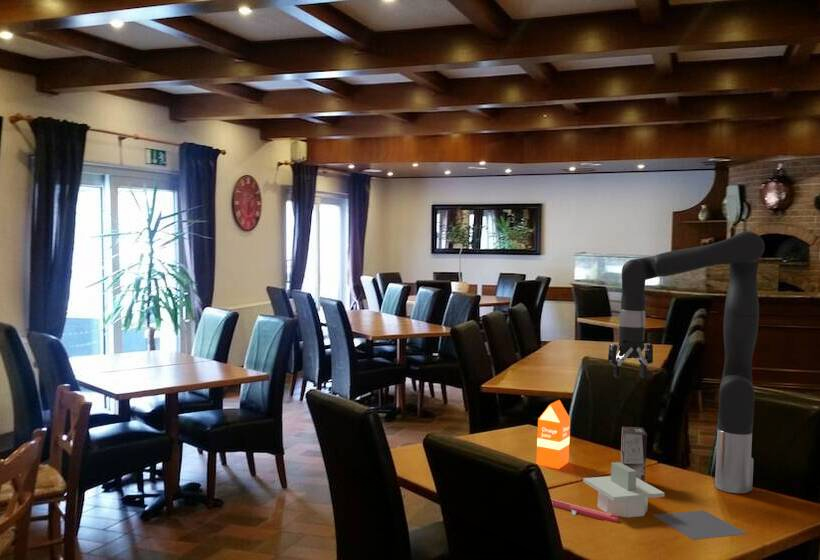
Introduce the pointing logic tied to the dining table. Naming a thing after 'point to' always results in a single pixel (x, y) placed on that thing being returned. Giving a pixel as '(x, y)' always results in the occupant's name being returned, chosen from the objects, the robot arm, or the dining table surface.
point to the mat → (699, 524)
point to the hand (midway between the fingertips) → (629, 377)
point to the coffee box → (634, 450)
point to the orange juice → (553, 436)
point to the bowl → (623, 506)
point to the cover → (623, 484)
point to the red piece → (585, 511)
